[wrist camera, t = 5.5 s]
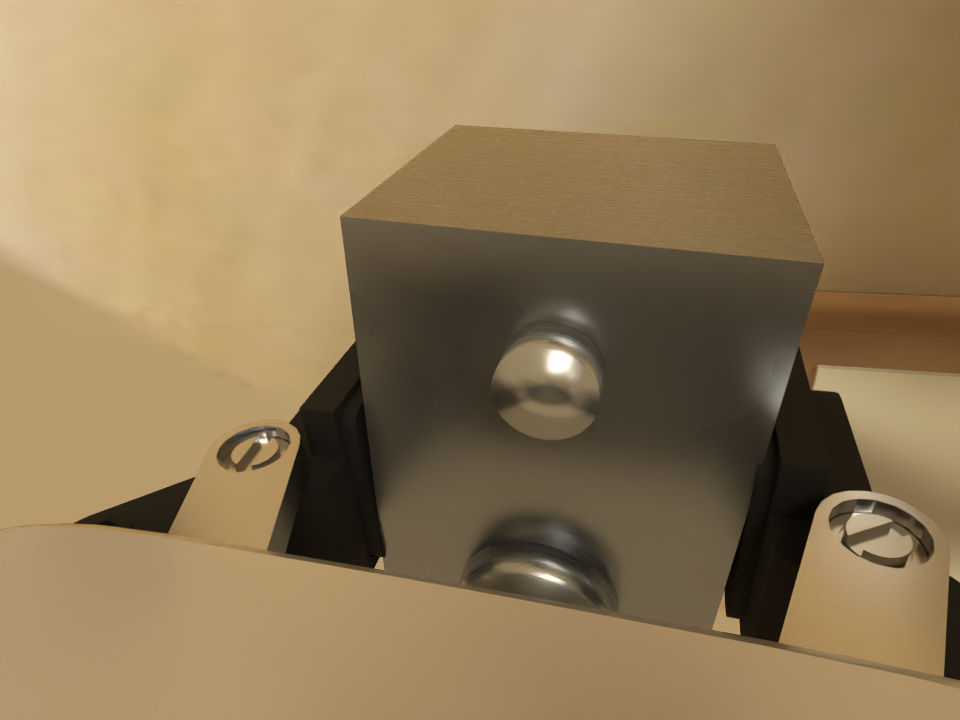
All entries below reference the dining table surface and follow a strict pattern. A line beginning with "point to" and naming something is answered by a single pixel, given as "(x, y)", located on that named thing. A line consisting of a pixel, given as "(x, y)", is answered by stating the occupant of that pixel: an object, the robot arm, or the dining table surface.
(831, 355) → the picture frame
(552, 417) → the housing
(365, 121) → the dining table surface
